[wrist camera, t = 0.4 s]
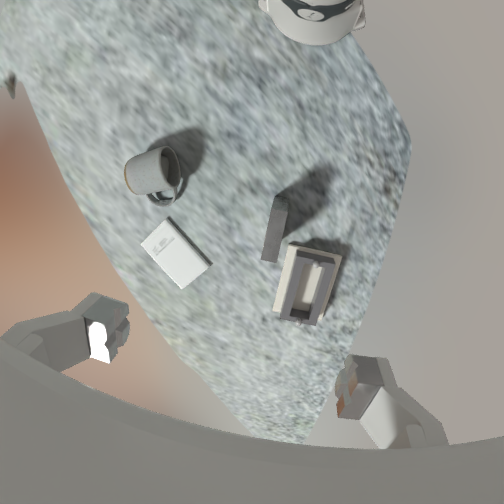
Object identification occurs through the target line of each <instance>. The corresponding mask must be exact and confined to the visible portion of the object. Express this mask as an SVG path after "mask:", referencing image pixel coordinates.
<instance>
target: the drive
mask: <svg viewBox="0 0 504 504" xmlns="http://www.w3.org/2000/svg"><path fill="white" fill-rule="evenodd" d="M288 200H289V199H287V198H283V197H278V196H275V198H274V201H273V205H272V208H271V213H270V218H269V222H268V227H267V231H266V235H265V240H264V245H263V251H262V256H261V260H265V261H270V262H274V263H276V262H277V258H278V254H279V249H280V245H281V241H282V236H283V232H284V228H285V223H286V219H287V214H288Z"/></svg>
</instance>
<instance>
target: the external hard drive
mask: <svg viewBox="0 0 504 504" xmlns="http://www.w3.org/2000/svg"><path fill="white" fill-rule="evenodd" d="M141 246H142V247H143V248H144V249H145V250H146V251H147V252H148V253H149V255H150V256H151V257H152V258H153V259H154V260H155V261H156V262H157V263H158V265H159V266H160V267H161V268H162V269H163V270H164V271H165V272H166V273H167V274H168V275H169V276H170V278H171V279H172V280H173V281H174V282H175V283H176V284H177V285H178V286H179V287H180V288H181V289H183V288H185V287H186V286H187V285H188V284H190V283H191V282H192V281H193V280H194V279H196V278H197V277H198V276H199V275H201V274H202V273H203V272H204V271H206V270H207V269H208V268H209V267H210V264H209V263H208V262H207V261H206V260H205V259H204V258H203V257H202V256H201V255H200V254H199V253H198V251H197V250H196V249H195V248H194V247H193V246H192V245H191V244H190V243H189V242H188V240H187V239H186V238H185V237H184V236H183V235H182V234H181V233H180V232H179V231H178V229H177V228H176V227H175V226H174V225H173V224H172V223H171V222H170V220H169V219H168V218H166V219H165V220H164V221H163V222H162V223H161V224H160V225H159V226H158V227H157V228H156V229H155V230H154V231H153V232H152V233H151V234H150V235H149V236H148V237H147V238H146V239H145V240H144V241H143V242H142V243H141Z"/></svg>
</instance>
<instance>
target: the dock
mask: <svg viewBox="0 0 504 504" xmlns="http://www.w3.org/2000/svg"><path fill="white" fill-rule="evenodd" d="M341 259H342V256H341V255H338V254H334V253H329V252H325V251H320V250H316V249H311V248H307V247H302V246H298V245H293V244H289V245H288V249H287V253H286V257H285V262H284V266H283V270H282V274H281V278H280V282H279V286H278V290H277V294H276V298H275V302H274V306H273V311H275V312H280V319H284V320H288V321H293V322H296V325H297V326H300V325H301V323H304V324H309V325H314V326H316V323H317V320H320V321H321V320H322V317H323V314H324V311H325V308H326V305H327V302H328V299H329V297H330V294H331V291H332V288H333V284H334V281H335V278H336V275H337V272H338V269H339V266H340V263H341Z"/></svg>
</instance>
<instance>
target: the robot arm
mask: <svg viewBox="0 0 504 504" xmlns="http://www.w3.org/2000/svg"><path fill="white" fill-rule="evenodd" d="M258 5H259V7H260V9H261V10H263V11H264V12H265V13H267V14H268V15H269V16H270V17H271V18H272V20H273V22H274V24H275V25H276V27H277V28H278V29H279V30H280V31H281V32H282V33H283V34H284V35H286V36H287V37H289V38H290V39H292V40H294V41H297V42H300V43H303V44H308V45H326V44H331V43H334V42H336V41H338V40H340V39H341V38H343V37H344V36H345V35H346V34H348V33H349V32H351V31H355V30H359V29H362V28H364V26H365V23H366V21H365V13H364V5H363V0H259V2H258ZM359 17H360V18H359ZM128 314H129V307H128V304H127V303H125V302H122V301H119V300H116V299H113V298H110V297H107V296H104V295H101V294H98V293H95V292H93V293H90V294H89V295H88V296H87V297H86V298H85V299H84V300H83V301H81V302H80V303H79V304H78V305H77V306H76V307H75V308H74V309H72V310H71V311H70V312H69V311H63V312H59V313H55V314H51V315H47V316H43V317H39V318H35V319H31V320H27V321H23V322H19V323H16V324H15V325H14V326H13V327H11V328H10V329H9V330H8V331H7V332H6V333H4V334H3V335H2V336H1V337H0V504H504V436H502V437H497V438H492V439H487V440H481V441H475V442H469V443H462V444H454V445H449V443H448V440H447V437H446V434H445V432H444V429H443V426H442V423H441V422H440V421H438V420H437V419H436V418H435V417H434V416H433V415H432V414H431V413H429V412H428V411H427V410H426V409H425V408H423V406H421V405H420V404H419V403H418V402H417V401H416V400H414V399H413V398H412V397H411V396H410V395H409V394H408V393H407V392H405V391H404V390H403V389H402V388H398V387H397V384H396V381H395V378H394V375H393V372H392V369H391V366H390V364H389V361H388V359H386V358H379V357H367V356H359V355H352V354H349V355H348V356H347V357H346V359H345V361H344V365H345V368H344V369H342V370H341V371H340V372H339V374H338V376H337V379H336V383H335V395H336V396H337V397H338V399H339V400H338V402H337V404H336V406H337V413H338V418H346V419H355V420H359V421H360V423H361V424H362V426H363V427H364V428H365V430H366V431H367V433H368V434H369V435H370V437H371V438H372V439H373V440H374V442H375V443H376V445H377V446H378V447H379V449H354V448H334V447H320V446H311V445H302V444H294V443H286V442H279V441H273V440H267V439H261V438H255V437H250V436H245V435H240V434H234V433H230V432H226V431H221V430H217V429H212V428H209V427H204V426H201V425H197V424H194V423H190V422H186V421H183V420H179V419H176V418H172V417H169V416H166V415H163V414H160V413H157V412H154V411H151V410H148V409H145V408H142V407H139V406H136V405H134V404H131V403H128V402H126V401H123V400H121V399H118V398H116V397H113V396H111V395H108V394H106V393H104V392H101V391H99V390H96V389H94V388H92V387H90V386H87V385H85V384H83V383H81V382H79V381H77V380H75V379H72V378H70V377H68V376H66V375H64V374H62V373H60V372H61V371H63V370H66V369H68V368H70V367H72V366H74V365H76V364H78V363H80V362H82V361H84V360H86V359H89V358H90V356H91V357H93V358H96V359H99V360H101V361H104V362H107V363H111V361H112V360H113V358H114V357H115V356H116V354H117V353H118V351H117V348H118V347H121V346H123V345H124V343H125V342H126V340H127V338H128V335H129V330H130V324H129V321H128V320H127V318H126V316H127V315H128Z"/></svg>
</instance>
